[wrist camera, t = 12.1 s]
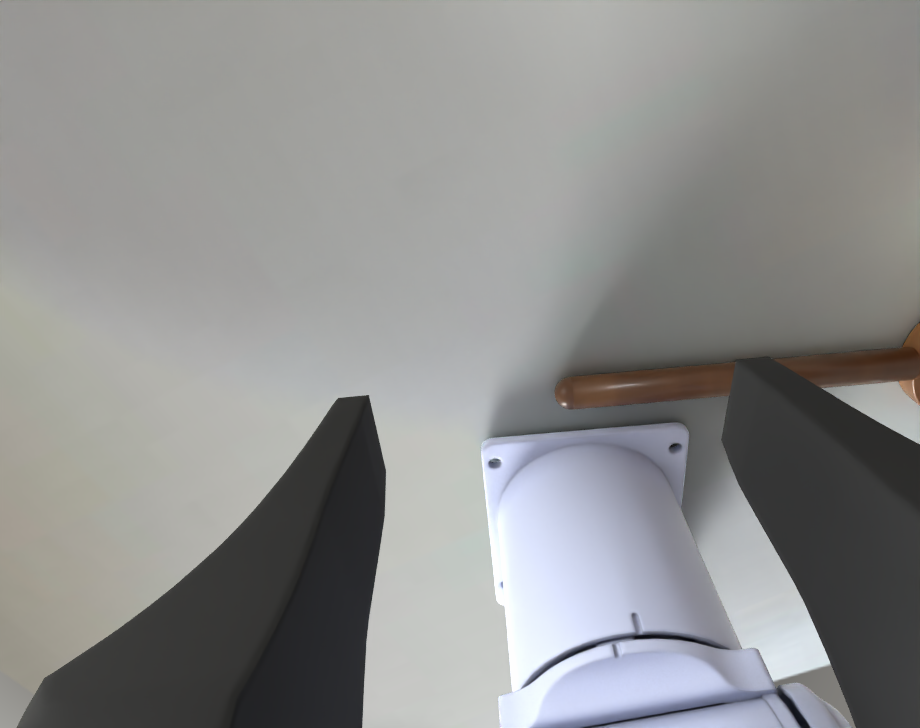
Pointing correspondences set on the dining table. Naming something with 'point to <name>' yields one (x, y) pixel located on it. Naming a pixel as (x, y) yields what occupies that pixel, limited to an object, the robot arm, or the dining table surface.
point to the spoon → (909, 364)
